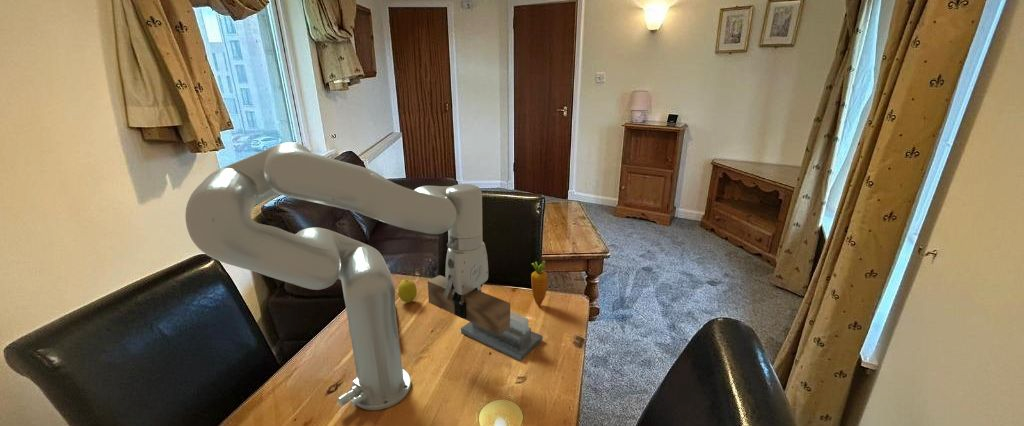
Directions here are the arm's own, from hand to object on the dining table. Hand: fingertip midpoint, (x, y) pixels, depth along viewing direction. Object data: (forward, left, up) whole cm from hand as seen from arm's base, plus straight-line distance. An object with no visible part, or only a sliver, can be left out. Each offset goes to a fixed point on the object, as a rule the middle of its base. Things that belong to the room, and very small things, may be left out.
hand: (467, 311), depth 96 cm
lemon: (+9, +34, -14) cm, 38 cm away
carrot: (+31, 0, -14) cm, 35 cm away
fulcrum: (+12, 0, -14) cm, 19 cm away
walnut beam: (0, 0, -1) cm, 1 cm away
